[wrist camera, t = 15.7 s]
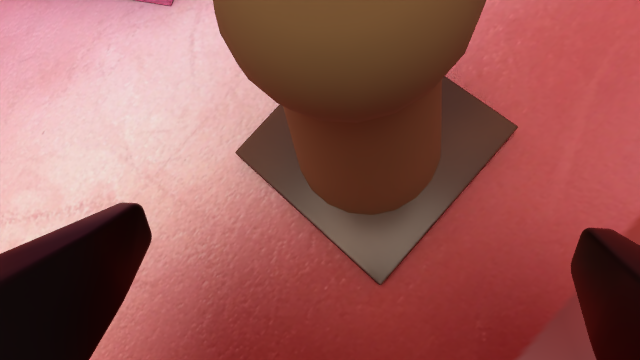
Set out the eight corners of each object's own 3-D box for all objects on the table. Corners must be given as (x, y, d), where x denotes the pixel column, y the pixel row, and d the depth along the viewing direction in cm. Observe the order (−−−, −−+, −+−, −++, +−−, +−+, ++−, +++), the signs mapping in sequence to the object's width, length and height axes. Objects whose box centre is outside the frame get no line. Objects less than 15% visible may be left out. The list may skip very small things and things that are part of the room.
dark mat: (514, 131, 16) (519, 126, 16) (380, 285, 16) (380, 286, 15) (361, 25, 19) (360, 17, 18) (239, 156, 18) (234, 152, 18)
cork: (467, 181, 16) (638, -23, 5) (325, 237, 16) (209, 155, 5) (405, 57, 17) (436, -288, 7) (278, 110, 18) (120, -140, 7)
